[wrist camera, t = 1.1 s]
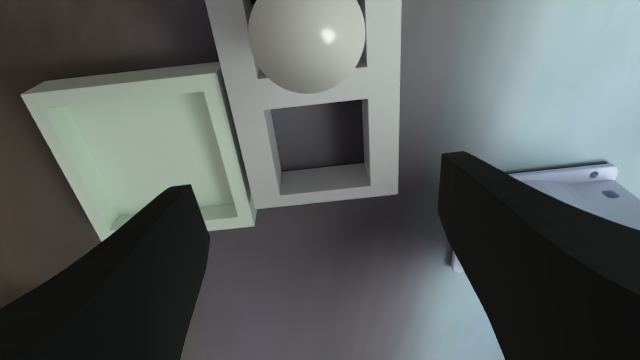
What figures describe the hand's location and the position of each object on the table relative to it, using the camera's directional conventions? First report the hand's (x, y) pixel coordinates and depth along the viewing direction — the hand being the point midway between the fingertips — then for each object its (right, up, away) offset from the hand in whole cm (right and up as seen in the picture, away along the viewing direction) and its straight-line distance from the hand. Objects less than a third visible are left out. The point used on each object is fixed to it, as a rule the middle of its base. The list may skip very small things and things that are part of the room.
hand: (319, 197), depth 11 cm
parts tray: (-9, +2, +11) cm, 14 cm away
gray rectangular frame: (0, +6, +9) cm, 11 cm away
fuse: (-1, +9, +7) cm, 11 cm away
